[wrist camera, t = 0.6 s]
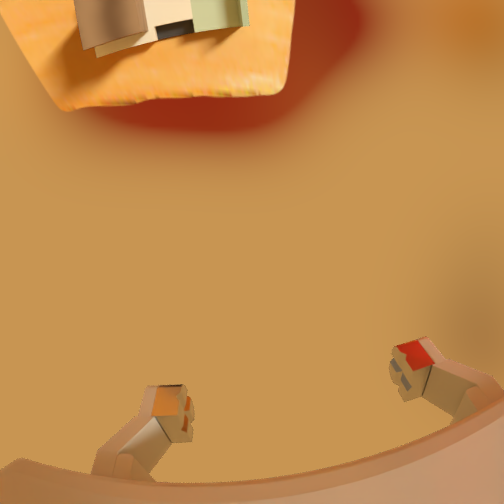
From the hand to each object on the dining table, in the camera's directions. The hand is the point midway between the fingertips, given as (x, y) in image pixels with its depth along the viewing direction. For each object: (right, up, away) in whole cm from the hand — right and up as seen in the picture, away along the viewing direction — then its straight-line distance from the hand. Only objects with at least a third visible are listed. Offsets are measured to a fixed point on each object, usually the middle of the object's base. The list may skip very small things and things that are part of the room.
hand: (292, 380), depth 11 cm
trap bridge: (-15, +44, +24) cm, 52 cm away
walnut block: (-22, +41, +21) cm, 51 cm away
